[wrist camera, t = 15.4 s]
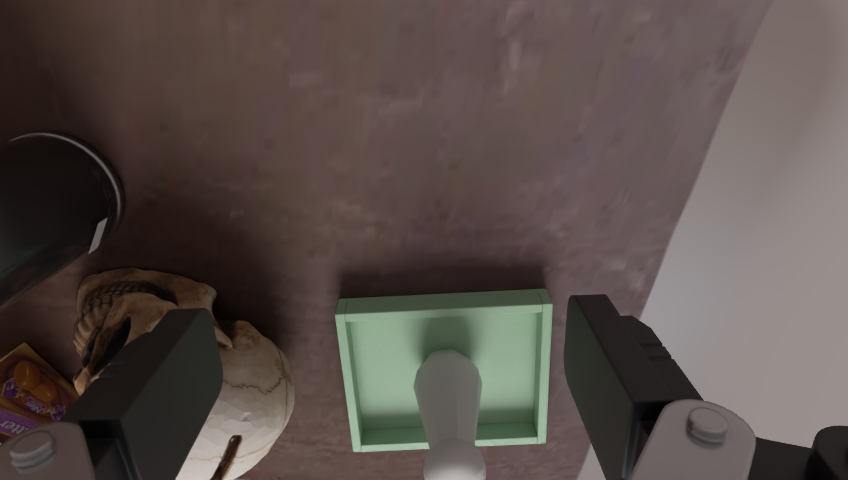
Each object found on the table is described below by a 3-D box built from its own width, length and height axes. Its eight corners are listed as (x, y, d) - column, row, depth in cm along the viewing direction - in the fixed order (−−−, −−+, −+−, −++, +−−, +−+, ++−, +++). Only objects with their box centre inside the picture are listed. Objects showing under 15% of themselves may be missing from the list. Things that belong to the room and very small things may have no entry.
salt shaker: (471, 397, 49) (487, 522, 37) (409, 389, 49) (406, 512, 37) (485, 344, 47) (507, 459, 35) (420, 335, 46) (421, 447, 35)
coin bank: (63, 274, 44) (-45, 379, 32) (274, 241, 45) (246, 331, 33) (129, 418, 51) (61, 550, 39) (312, 386, 52) (300, 505, 40)
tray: (356, 431, 51) (353, 452, 49) (338, 298, 46) (334, 314, 43) (540, 423, 51) (546, 443, 49) (545, 288, 45) (553, 303, 43)
